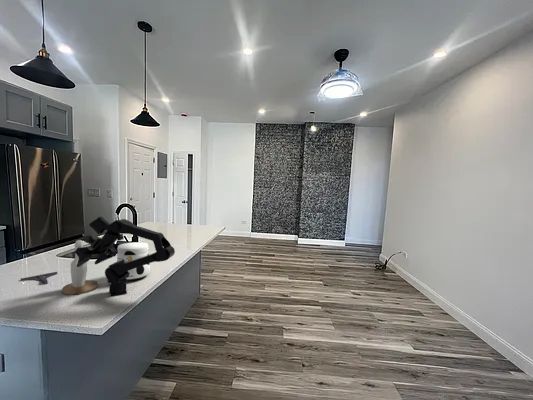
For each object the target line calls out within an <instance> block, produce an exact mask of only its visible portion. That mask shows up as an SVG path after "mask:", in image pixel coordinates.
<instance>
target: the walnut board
mask: <svg viewBox="0 0 533 400" xmlns="http://www.w3.org/2000/svg"><path fill="white" fill-rule="evenodd" d="M98 288H99V282H98V281H97V280H93V279H92V280H91V279H89V280H88V279H86V280H85V285H84V286H81V287H73V285H72V282H71V283H68V284H66V285H64V286H63V287H62V288H61V289H62V290H61V293H62V294H63V295H67V296H78V295H83V294H87V293H90V292H93V291H95V290H96V289H98Z"/></svg>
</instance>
